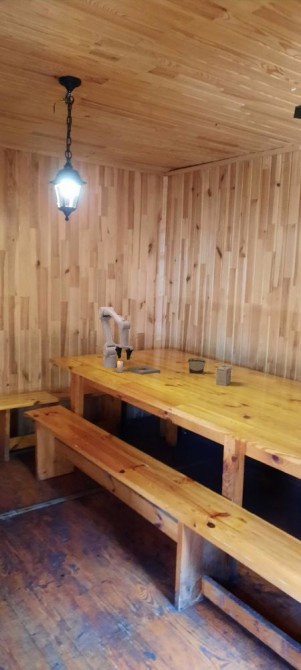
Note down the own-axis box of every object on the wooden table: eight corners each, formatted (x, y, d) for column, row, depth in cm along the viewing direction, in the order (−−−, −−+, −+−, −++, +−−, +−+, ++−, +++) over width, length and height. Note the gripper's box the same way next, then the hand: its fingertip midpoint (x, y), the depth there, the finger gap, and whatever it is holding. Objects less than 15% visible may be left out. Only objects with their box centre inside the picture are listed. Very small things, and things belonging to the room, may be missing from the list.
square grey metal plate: (111, 372, 331) (111, 370, 331) (121, 371, 336) (121, 369, 336) (118, 374, 325) (118, 373, 325) (128, 373, 330) (128, 371, 330)
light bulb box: (220, 381, 316) (221, 365, 314) (231, 382, 313) (232, 366, 311) (215, 384, 306) (216, 367, 305) (226, 386, 303) (226, 369, 302)
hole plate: (127, 371, 336) (127, 367, 335) (146, 369, 345) (146, 365, 345) (141, 376, 323) (141, 372, 323) (160, 373, 333) (160, 369, 333)
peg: (115, 371, 331) (116, 361, 330) (120, 370, 333) (121, 360, 332) (119, 372, 328) (119, 362, 327) (124, 371, 330) (124, 361, 329)
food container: (205, 372, 342) (205, 358, 341) (205, 374, 336) (205, 360, 335) (187, 371, 343) (188, 357, 342) (187, 373, 337) (187, 359, 336)
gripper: (112, 338, 328) (111, 358, 330) (128, 340, 320) (128, 361, 321) (119, 337, 334) (118, 357, 336) (135, 339, 325) (135, 359, 327)
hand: (123, 359), depth 329 cm, fingers open, 7 cm apart
